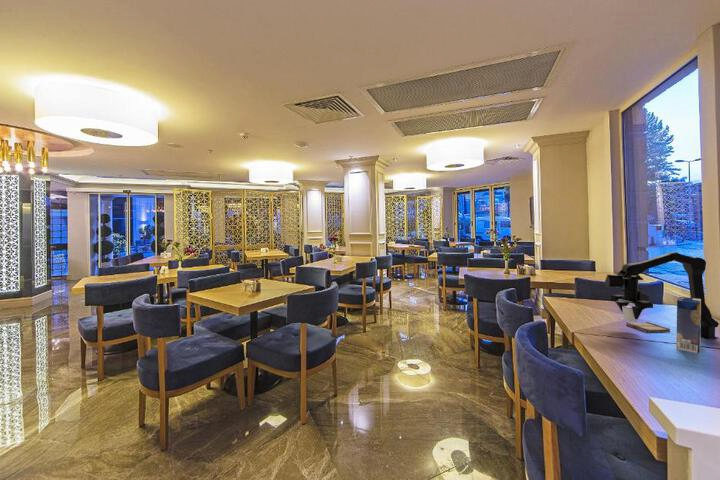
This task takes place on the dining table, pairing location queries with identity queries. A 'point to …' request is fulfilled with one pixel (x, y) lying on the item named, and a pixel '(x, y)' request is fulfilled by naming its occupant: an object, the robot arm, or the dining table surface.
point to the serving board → (648, 327)
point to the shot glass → (628, 314)
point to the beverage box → (688, 324)
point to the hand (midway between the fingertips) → (630, 317)
